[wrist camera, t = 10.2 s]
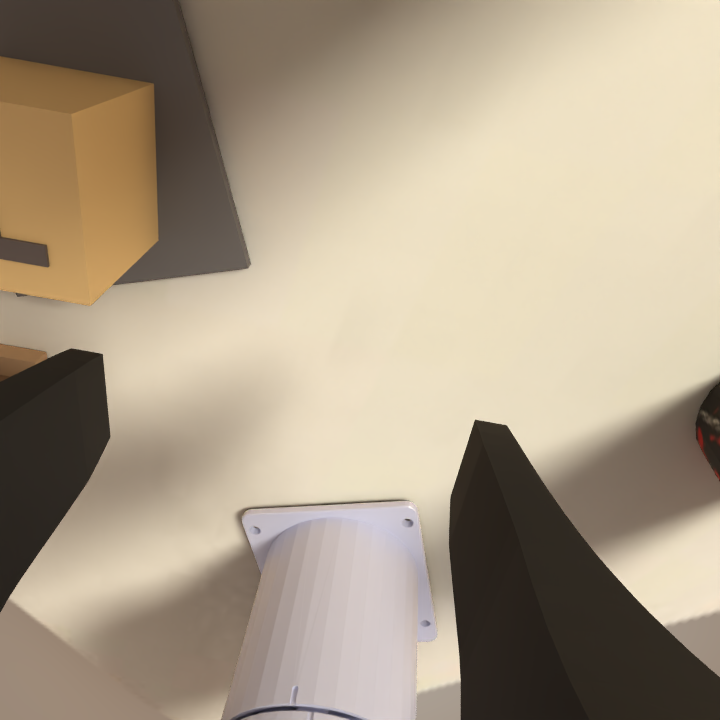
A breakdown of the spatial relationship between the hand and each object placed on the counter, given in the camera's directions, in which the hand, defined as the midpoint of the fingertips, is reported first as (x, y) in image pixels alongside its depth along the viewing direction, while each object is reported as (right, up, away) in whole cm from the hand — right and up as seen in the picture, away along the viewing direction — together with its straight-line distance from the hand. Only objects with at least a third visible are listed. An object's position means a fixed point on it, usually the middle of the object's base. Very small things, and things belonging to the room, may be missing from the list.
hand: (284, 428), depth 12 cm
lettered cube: (-8, +8, +8) cm, 13 cm away
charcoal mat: (-8, +8, +8) cm, 14 cm away
